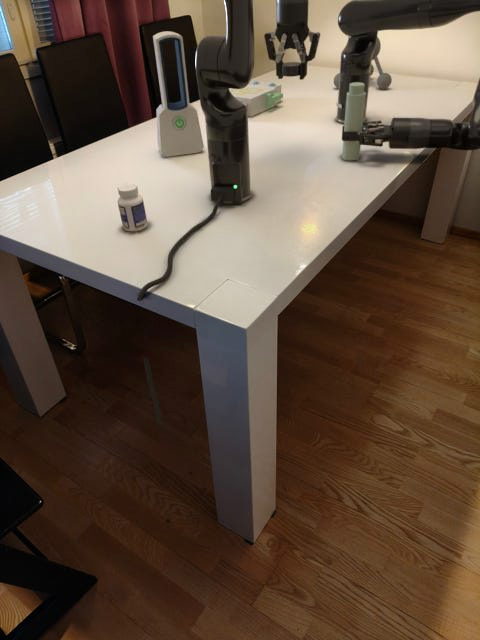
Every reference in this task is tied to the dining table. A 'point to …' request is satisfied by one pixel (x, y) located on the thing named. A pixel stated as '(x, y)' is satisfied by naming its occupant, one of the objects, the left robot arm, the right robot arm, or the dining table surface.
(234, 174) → the left robot arm
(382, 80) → the molecular model
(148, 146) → the dining table surface
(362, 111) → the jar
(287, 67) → the lid
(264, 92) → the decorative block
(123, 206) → the pill bottle
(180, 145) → the electronic device
